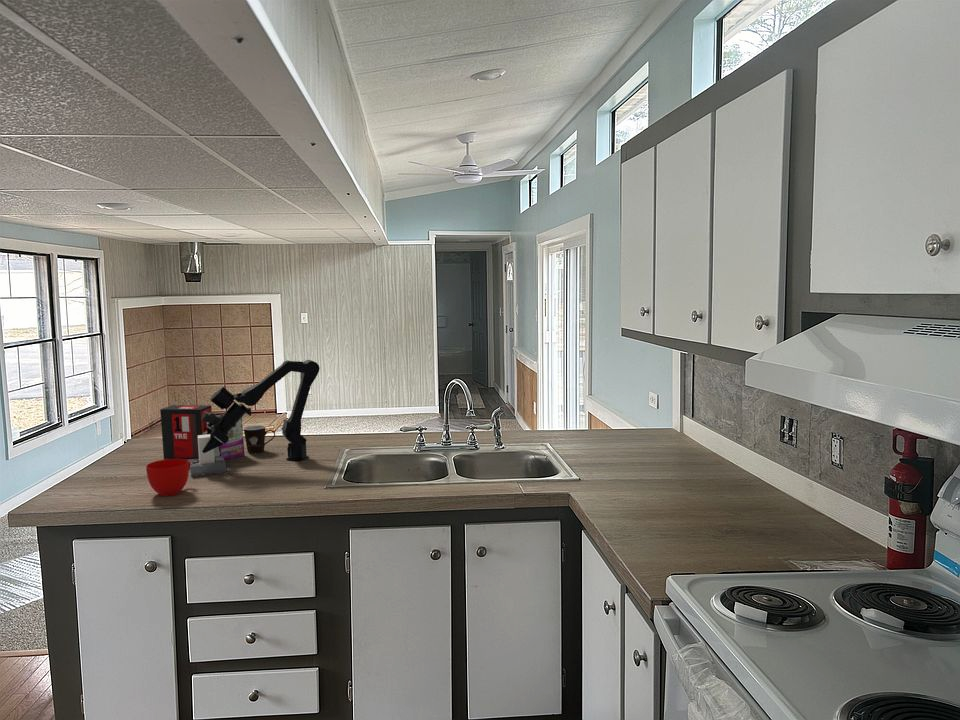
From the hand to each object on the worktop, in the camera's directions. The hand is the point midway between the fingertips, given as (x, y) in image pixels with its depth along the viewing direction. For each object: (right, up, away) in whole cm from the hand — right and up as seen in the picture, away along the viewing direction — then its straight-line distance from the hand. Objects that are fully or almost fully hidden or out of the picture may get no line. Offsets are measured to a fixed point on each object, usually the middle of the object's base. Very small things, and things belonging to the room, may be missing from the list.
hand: (201, 449), depth 258 cm
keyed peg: (+1, -8, +2) cm, 8 cm away
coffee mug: (+12, -5, +28) cm, 31 cm away
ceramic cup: (0, -11, -23) cm, 26 cm away
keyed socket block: (+1, -8, +2) cm, 8 cm away
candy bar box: (+3, -6, +20) cm, 21 cm away
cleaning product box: (-14, -6, +23) cm, 28 cm away
